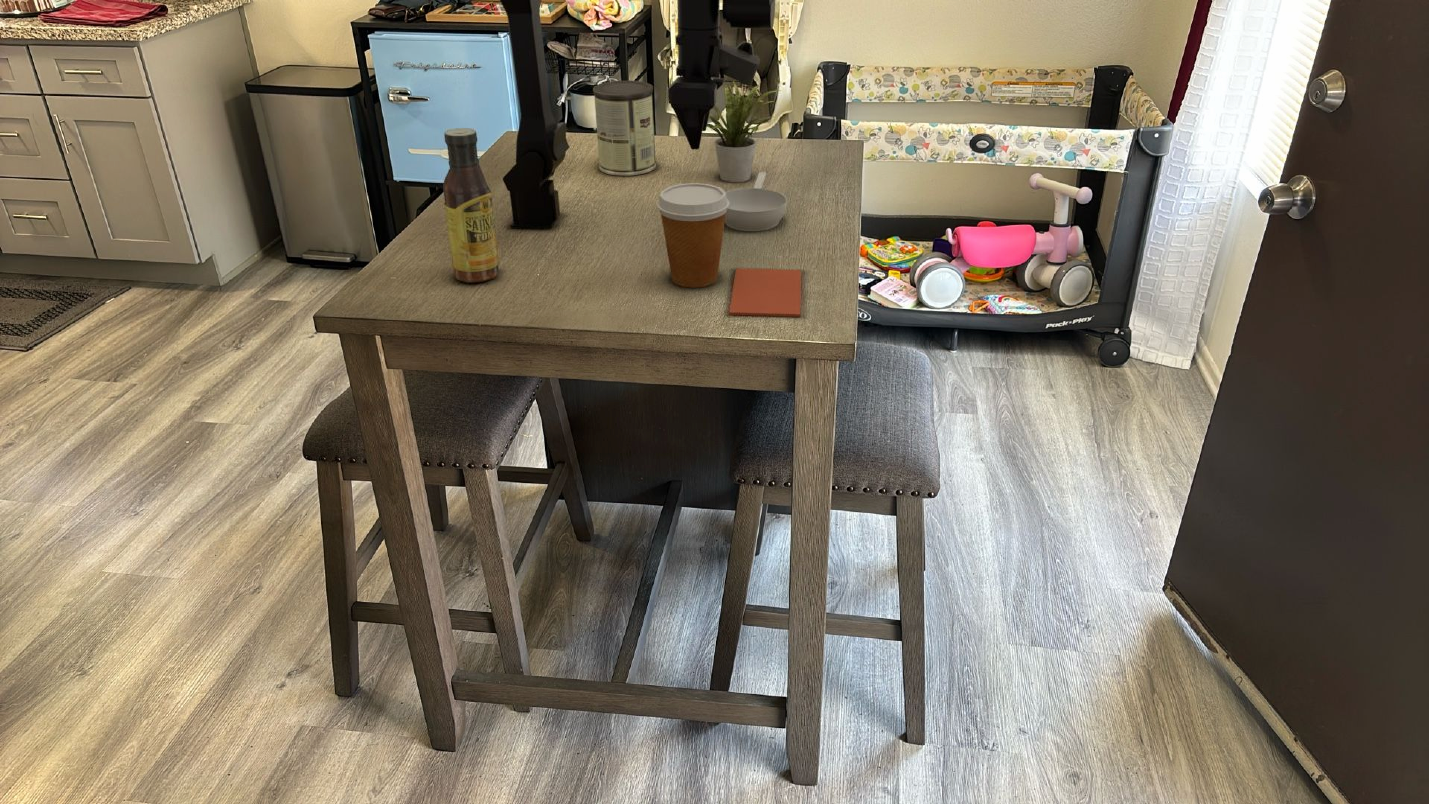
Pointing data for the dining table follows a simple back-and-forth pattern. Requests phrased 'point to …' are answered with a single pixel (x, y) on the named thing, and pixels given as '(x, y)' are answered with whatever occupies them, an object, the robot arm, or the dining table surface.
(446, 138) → the sauce bottle
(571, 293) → the dining table surface
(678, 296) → the dining table surface
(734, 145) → the house plant
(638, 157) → the coffee can
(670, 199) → the disposable coffee cup
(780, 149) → the dining table surface
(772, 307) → the mat
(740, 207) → the saucepan
